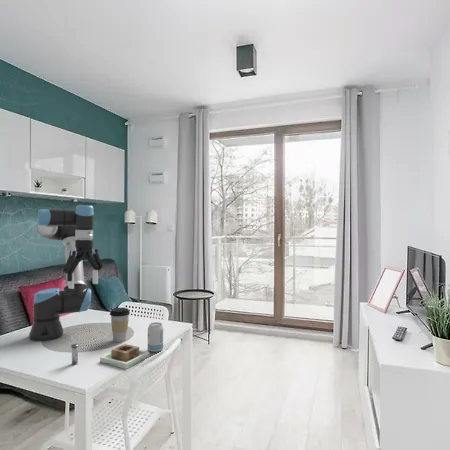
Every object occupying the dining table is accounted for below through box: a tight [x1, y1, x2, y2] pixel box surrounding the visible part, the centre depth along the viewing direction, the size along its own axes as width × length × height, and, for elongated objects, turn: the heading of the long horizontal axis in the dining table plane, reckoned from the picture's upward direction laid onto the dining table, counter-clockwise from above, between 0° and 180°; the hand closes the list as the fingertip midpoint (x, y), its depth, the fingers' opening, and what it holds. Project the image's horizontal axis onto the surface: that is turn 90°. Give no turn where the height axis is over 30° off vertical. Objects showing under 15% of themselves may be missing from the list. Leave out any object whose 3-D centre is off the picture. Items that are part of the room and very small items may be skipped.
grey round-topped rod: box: [70, 343, 80, 366], centre depth 140 cm, size 3×3×8 cm
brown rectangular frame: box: [110, 343, 140, 362], centre depth 145 cm, size 10×8×4 cm
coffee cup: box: [109, 307, 131, 343], centre depth 168 cm, size 9×9×15 cm
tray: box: [99, 349, 150, 370], centre depth 145 cm, size 14×14×2 cm
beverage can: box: [147, 321, 164, 354], centre depth 155 cm, size 7×7×12 cm
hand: (83, 286), depth 156 cm, fingers open, 13 cm apart
